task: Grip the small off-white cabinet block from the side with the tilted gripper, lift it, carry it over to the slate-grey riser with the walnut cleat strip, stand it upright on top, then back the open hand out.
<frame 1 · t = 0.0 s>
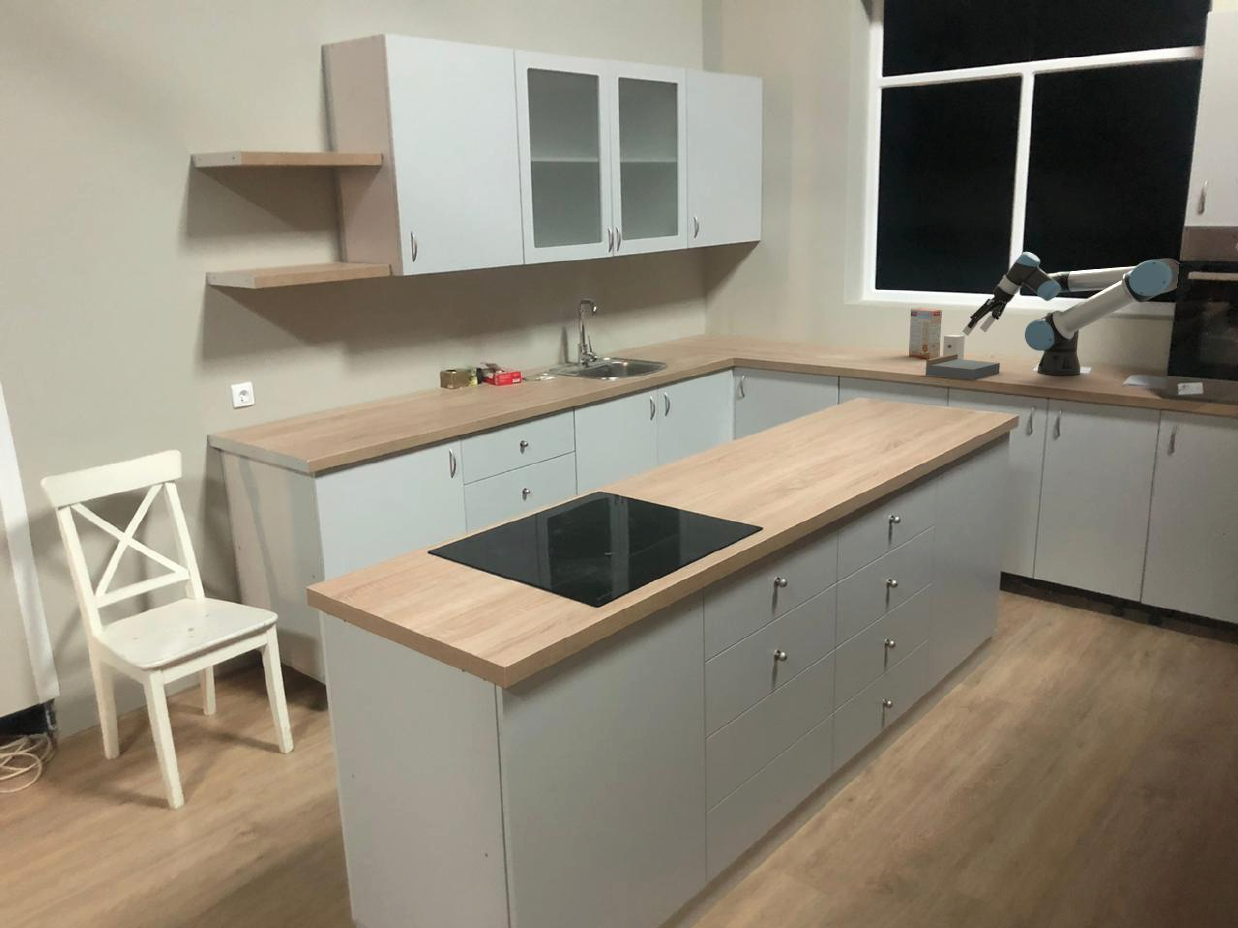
hand: (974, 331, 388), 15 cm above the table, tool tilted 35°, fingers open, 13 cm apart
cracker box: (924, 357, 429), on the table
riser: (962, 374, 384), on the table
cabinet block: (952, 364, 407), on the table
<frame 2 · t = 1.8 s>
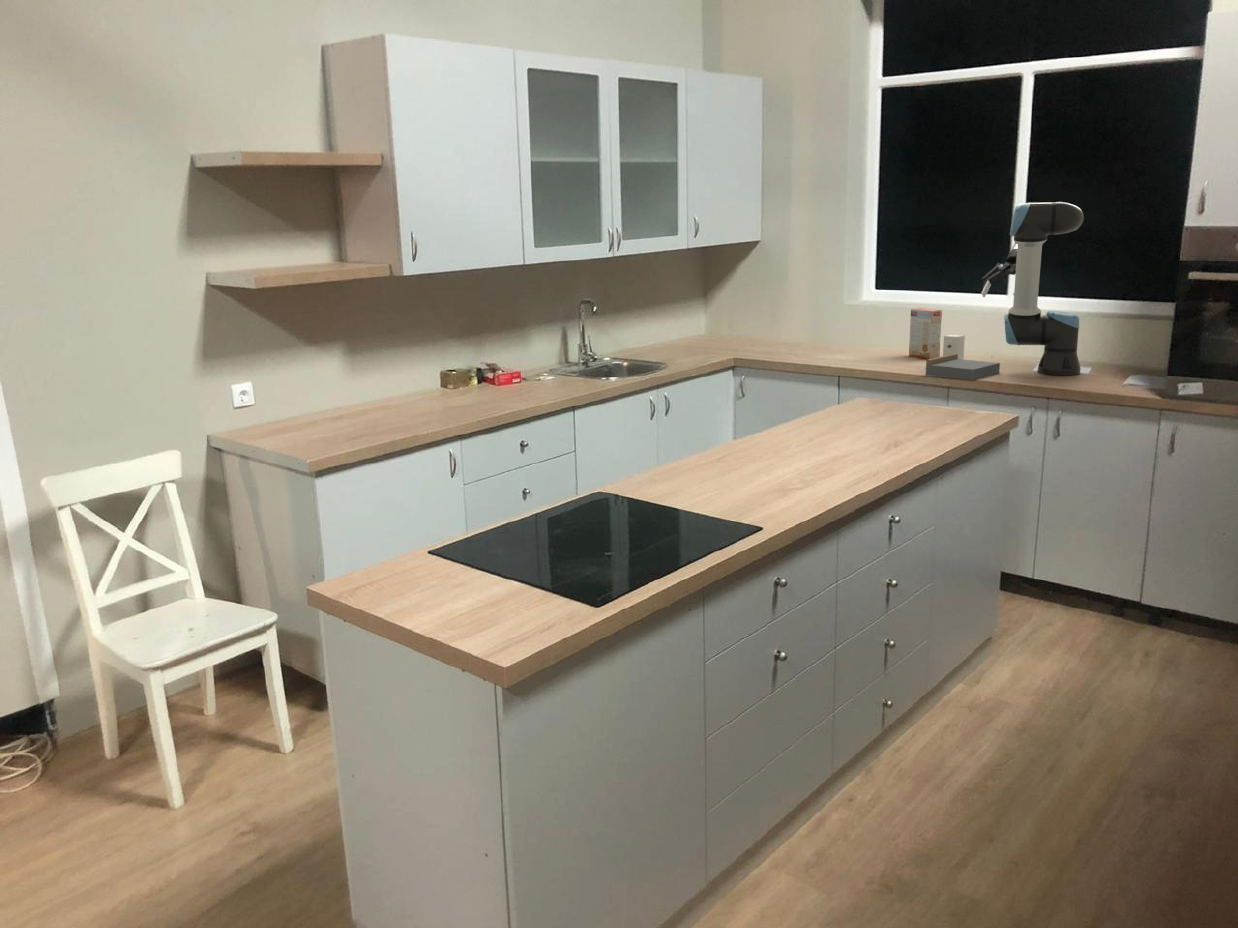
hand: (998, 295, 399), 28 cm above the table, tool tilted 45°, fingers open, 13 cm apart
nothing on the table moved.
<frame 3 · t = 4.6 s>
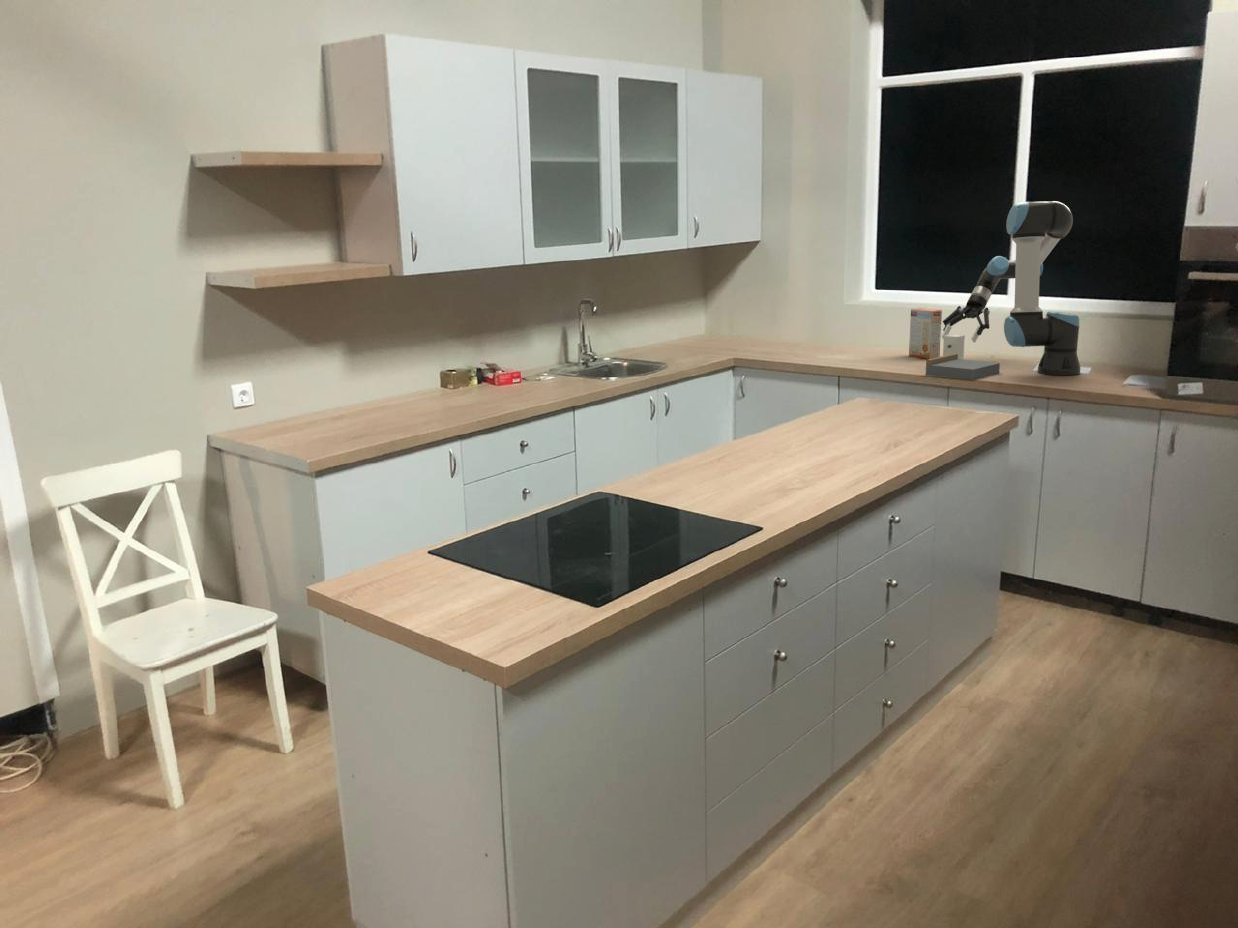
hand: (958, 339, 408), 10 cm above the table, tool tilted 45°, fingers open, 13 cm apart
nothing on the table moved.
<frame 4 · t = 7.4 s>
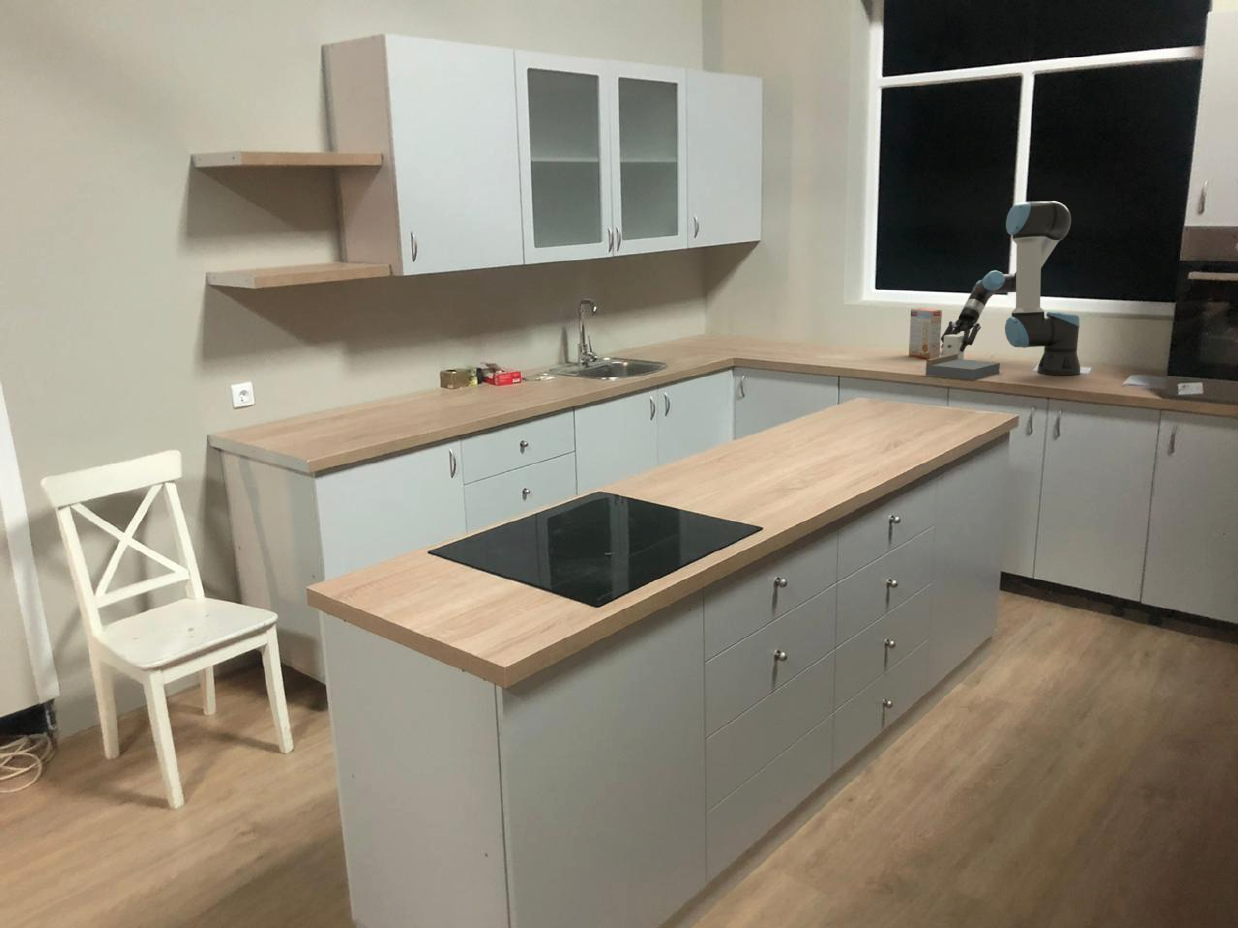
hand: (948, 356, 404), 4 cm above the table, tool tilted 45°, fingers closed on cabinet block, 6 cm apart
cabinet block: (952, 364, 407), on the table, touching gripper
everything else where it was.
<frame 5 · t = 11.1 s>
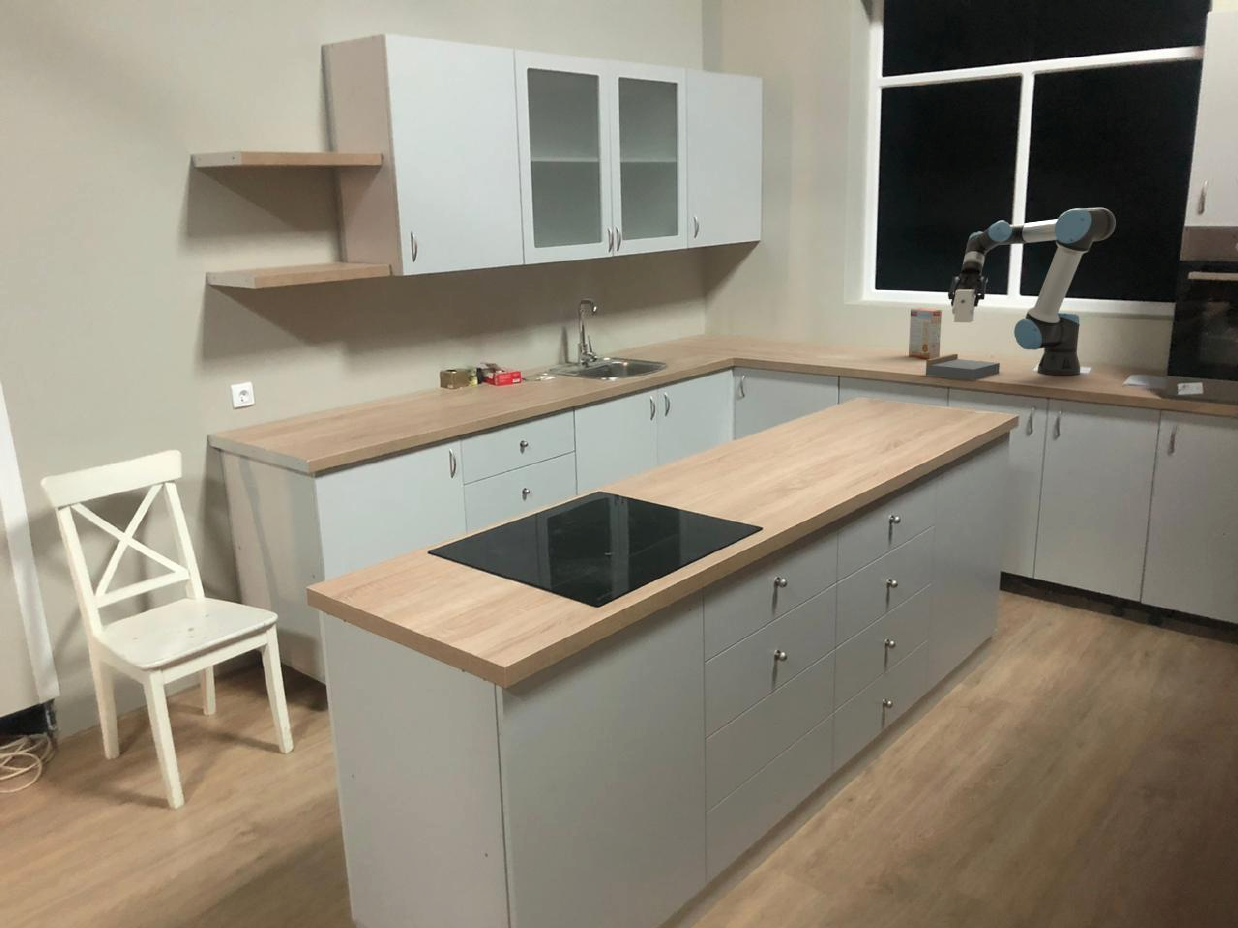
hand: (962, 312, 376), 24 cm above the table, tool tilted 45°, fingers closed on cabinet block, 6 cm apart
cabinet block: (963, 321, 380), point 20 cm above the table, touching gripper
everything else where it was.
when the fingers open (9 cm above the table, at t = 14.9 s): cabinet block drops 1 cm, resting on riser.
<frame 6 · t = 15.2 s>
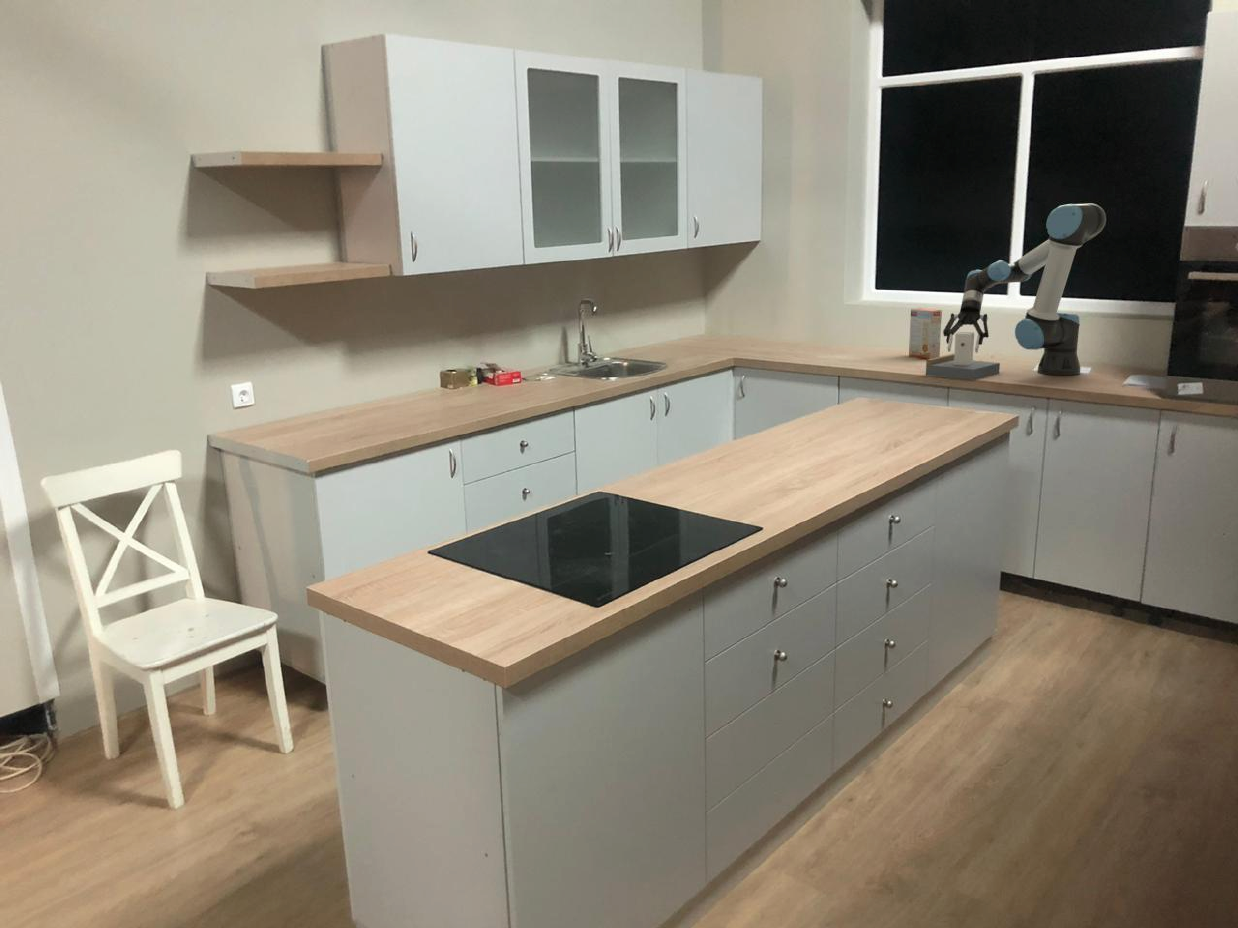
hand: (962, 350, 379), 10 cm above the table, tool tilted 45°, fingers open, 9 cm apart
cabinet block: (963, 363, 383), point 4 cm above the table, touching riser
everything else where it was.
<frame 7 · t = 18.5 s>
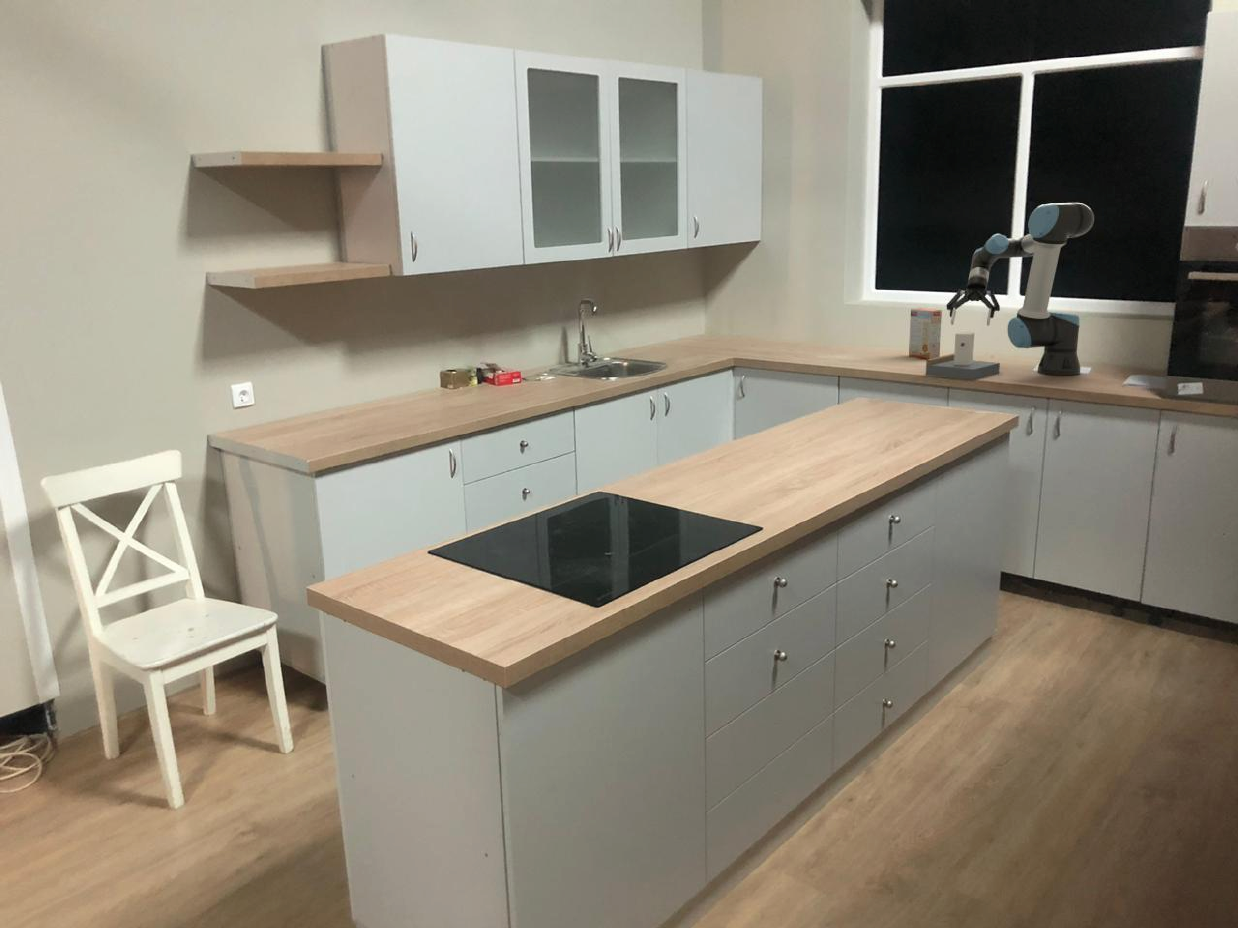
hand: (969, 323, 388), 19 cm above the table, tool tilted 45°, fingers open, 13 cm apart
nothing on the table moved.
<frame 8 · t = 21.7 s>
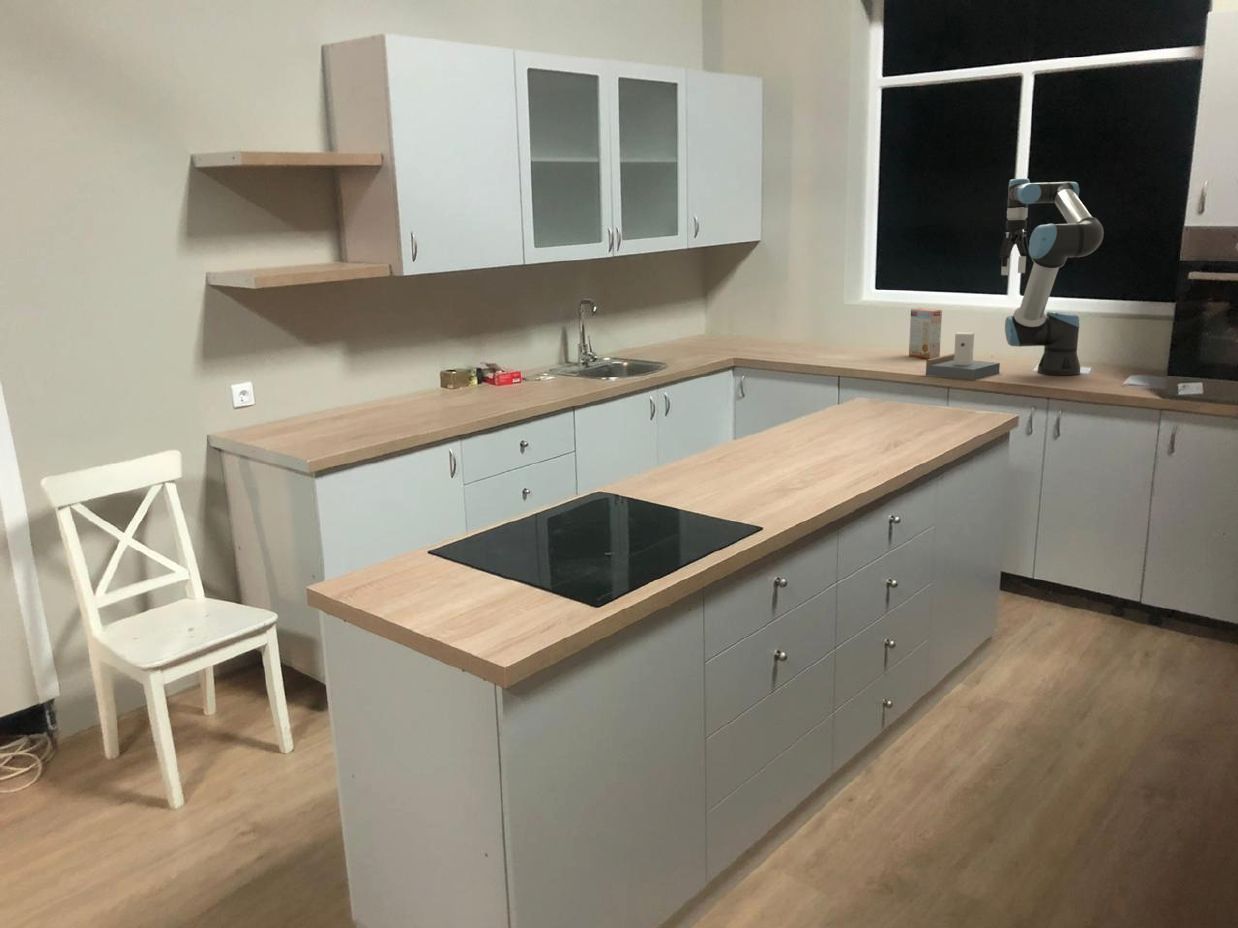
hand: (1013, 274, 392), 37 cm above the table, tool pointing down, fingers open, 13 cm apart
nothing on the table moved.
at the end: cabinet block inside the target area (0.1 cm from its centre), point 4.0 cm above the table; cabinet block tilted 0°; the gripper is holding nothing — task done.
